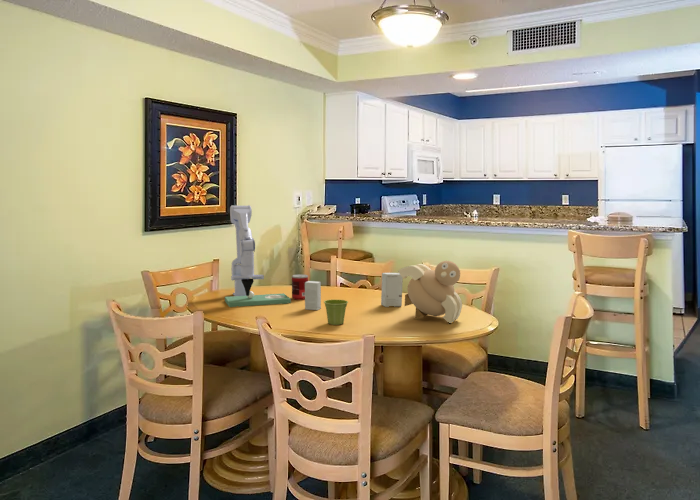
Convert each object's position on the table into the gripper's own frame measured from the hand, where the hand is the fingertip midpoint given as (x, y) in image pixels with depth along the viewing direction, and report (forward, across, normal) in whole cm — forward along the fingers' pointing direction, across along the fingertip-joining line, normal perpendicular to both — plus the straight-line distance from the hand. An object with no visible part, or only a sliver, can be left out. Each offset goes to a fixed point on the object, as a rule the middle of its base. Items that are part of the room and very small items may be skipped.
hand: (247, 295), depth 253 cm
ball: (0, +1, +1) cm, 1 cm away
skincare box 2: (+4, +61, -24) cm, 66 cm away
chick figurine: (+5, +66, -52) cm, 84 cm away
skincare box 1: (+4, +25, -20) cm, 33 cm away
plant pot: (+6, +26, -48) cm, 55 cm away
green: (+3, +5, +1) cm, 6 cm away
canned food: (+3, +26, +4) cm, 26 cm away
